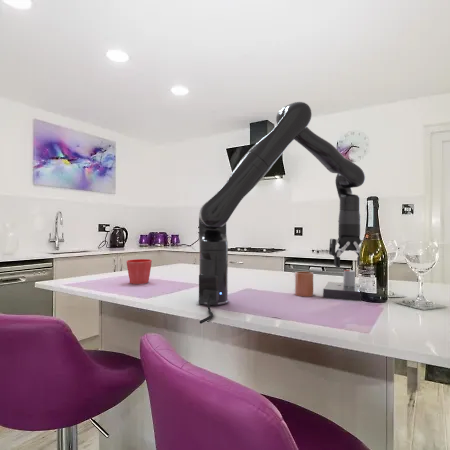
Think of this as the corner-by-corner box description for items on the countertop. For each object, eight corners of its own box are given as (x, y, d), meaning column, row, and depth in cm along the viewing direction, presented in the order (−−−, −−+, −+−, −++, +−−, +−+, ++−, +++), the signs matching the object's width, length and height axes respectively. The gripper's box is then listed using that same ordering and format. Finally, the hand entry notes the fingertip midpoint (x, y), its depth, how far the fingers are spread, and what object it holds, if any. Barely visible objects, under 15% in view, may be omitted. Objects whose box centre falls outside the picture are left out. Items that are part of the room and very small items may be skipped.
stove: (360, 300, 111) (360, 291, 111) (323, 297, 115) (323, 288, 115) (361, 291, 125) (361, 283, 125) (328, 289, 130) (328, 281, 130)
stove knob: (351, 284, 124) (351, 269, 124) (357, 286, 120) (357, 270, 120) (341, 284, 123) (341, 269, 123) (347, 286, 119) (347, 270, 119)
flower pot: (126, 285, 137) (126, 262, 137) (126, 281, 148) (126, 259, 148) (152, 284, 140) (152, 261, 140) (151, 280, 150) (151, 258, 150)
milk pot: (311, 297, 116) (311, 274, 116) (293, 295, 118) (293, 273, 118) (314, 293, 122) (314, 272, 122) (296, 292, 124) (297, 271, 124)
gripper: (335, 222, 117) (334, 268, 117) (373, 223, 119) (372, 268, 119) (326, 222, 124) (325, 266, 124) (362, 223, 126) (361, 266, 126)
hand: (348, 267), depth 122 cm, fingers open, 8 cm apart
